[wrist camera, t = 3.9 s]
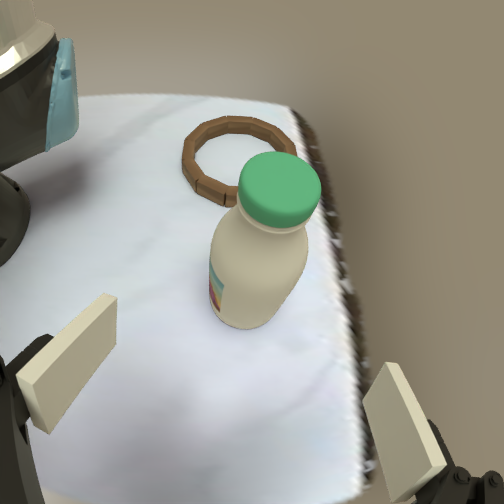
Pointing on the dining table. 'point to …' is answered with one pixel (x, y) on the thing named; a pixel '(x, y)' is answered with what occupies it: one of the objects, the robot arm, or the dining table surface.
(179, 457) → the dining table surface
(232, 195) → the walnut ring
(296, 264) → the milk bottle
